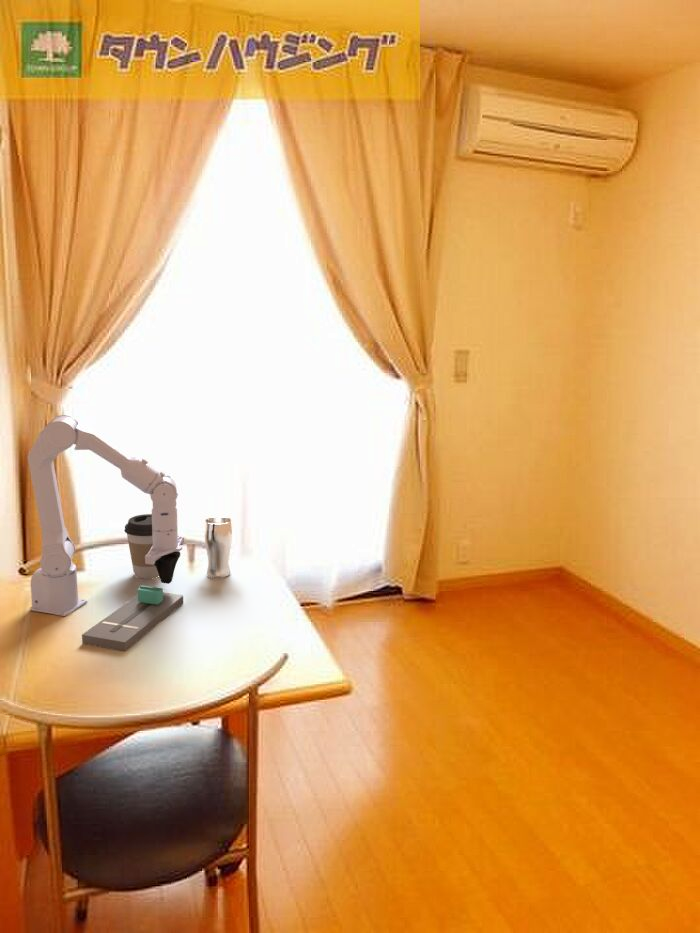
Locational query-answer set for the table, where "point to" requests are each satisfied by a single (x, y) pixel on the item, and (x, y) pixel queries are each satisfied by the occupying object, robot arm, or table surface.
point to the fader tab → (150, 594)
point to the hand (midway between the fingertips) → (166, 582)
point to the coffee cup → (141, 545)
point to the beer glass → (218, 545)
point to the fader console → (131, 622)
